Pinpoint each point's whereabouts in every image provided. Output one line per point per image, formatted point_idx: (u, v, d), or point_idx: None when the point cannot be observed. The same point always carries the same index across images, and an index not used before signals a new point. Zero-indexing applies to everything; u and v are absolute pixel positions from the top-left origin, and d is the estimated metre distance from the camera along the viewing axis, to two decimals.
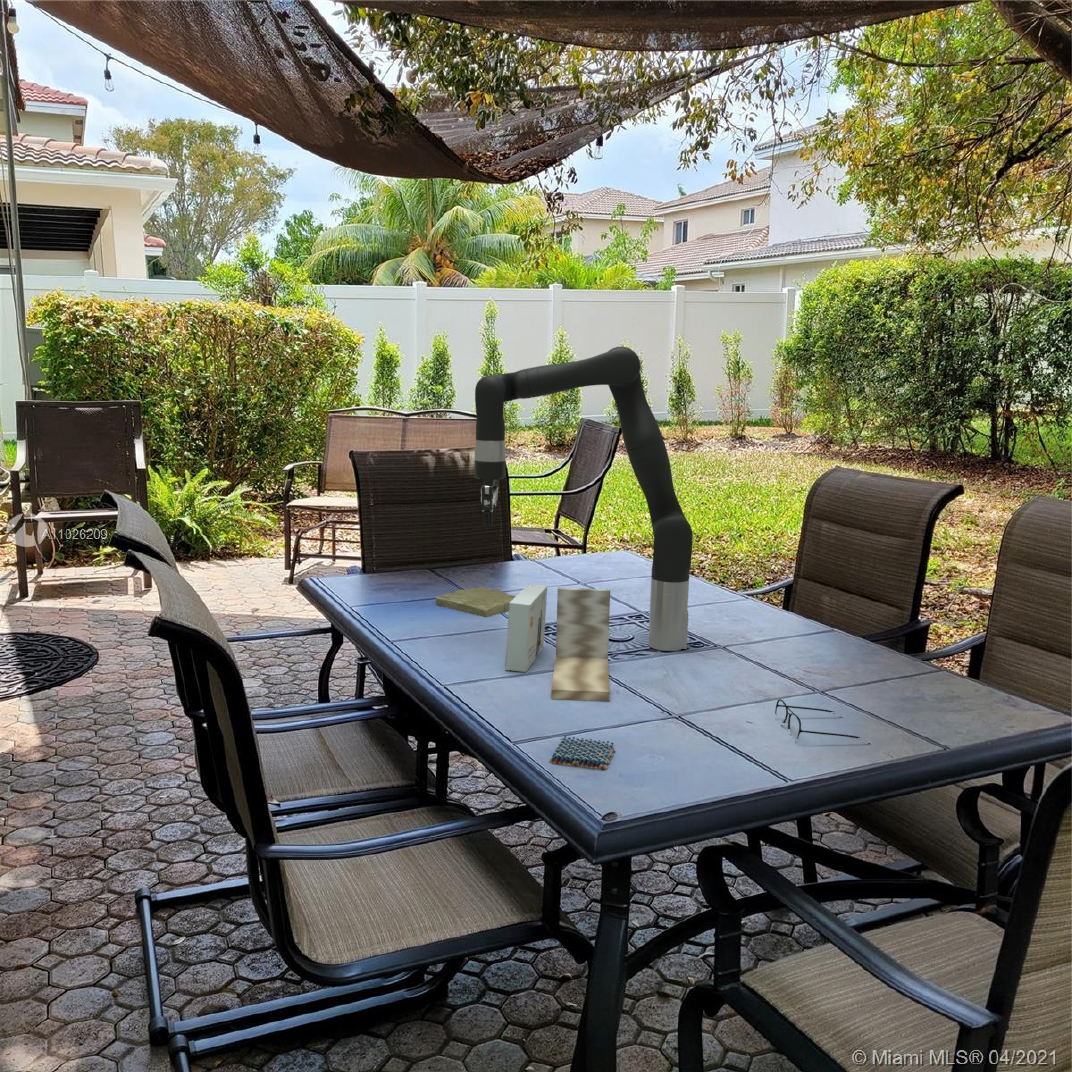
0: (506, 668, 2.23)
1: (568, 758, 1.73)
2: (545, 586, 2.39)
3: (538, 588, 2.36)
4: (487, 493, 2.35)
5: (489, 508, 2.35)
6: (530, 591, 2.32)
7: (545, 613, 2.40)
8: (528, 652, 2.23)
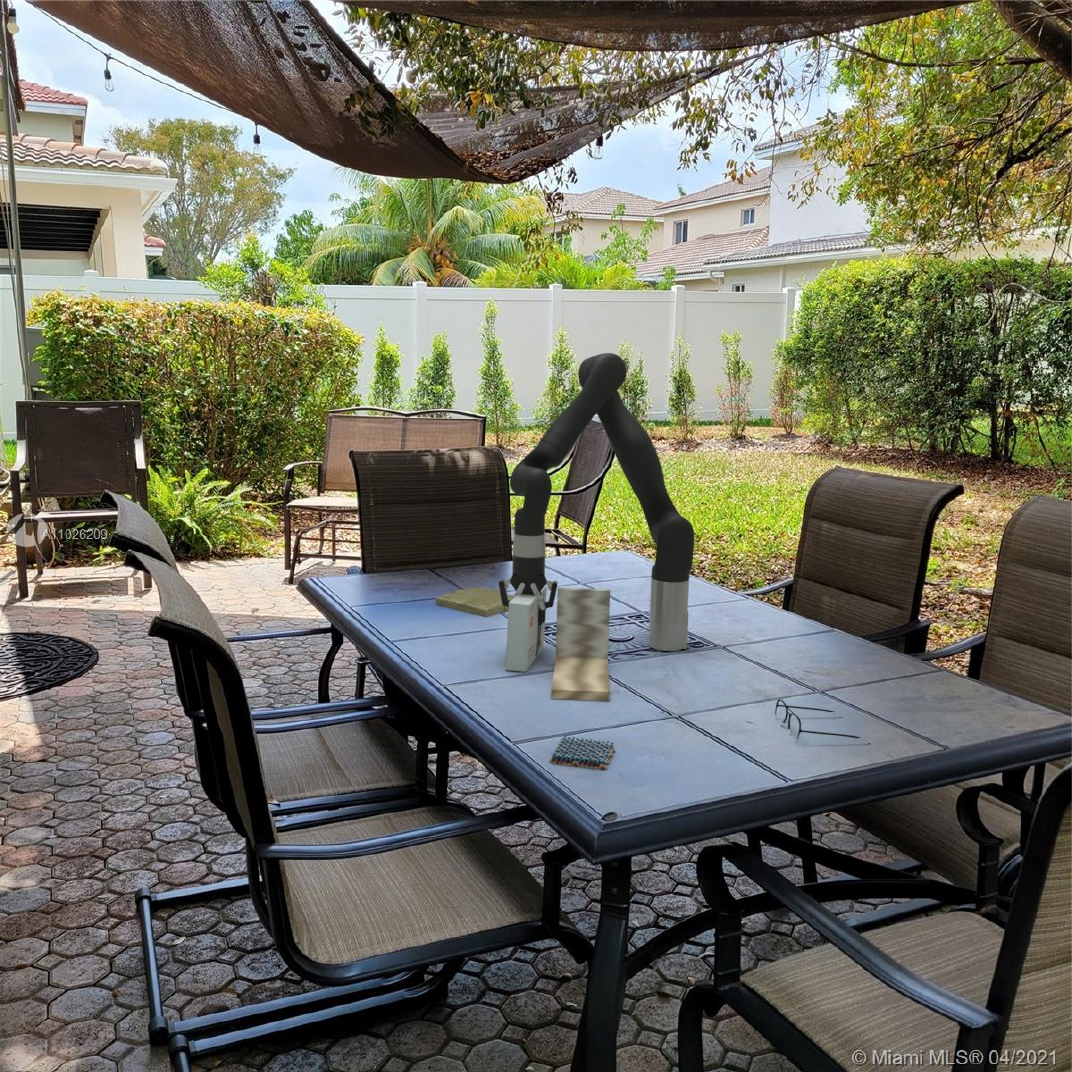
0: (506, 668, 2.23)
1: (568, 758, 1.73)
2: (545, 586, 2.39)
3: None
4: None
5: None
6: None
7: None
8: (528, 652, 2.23)
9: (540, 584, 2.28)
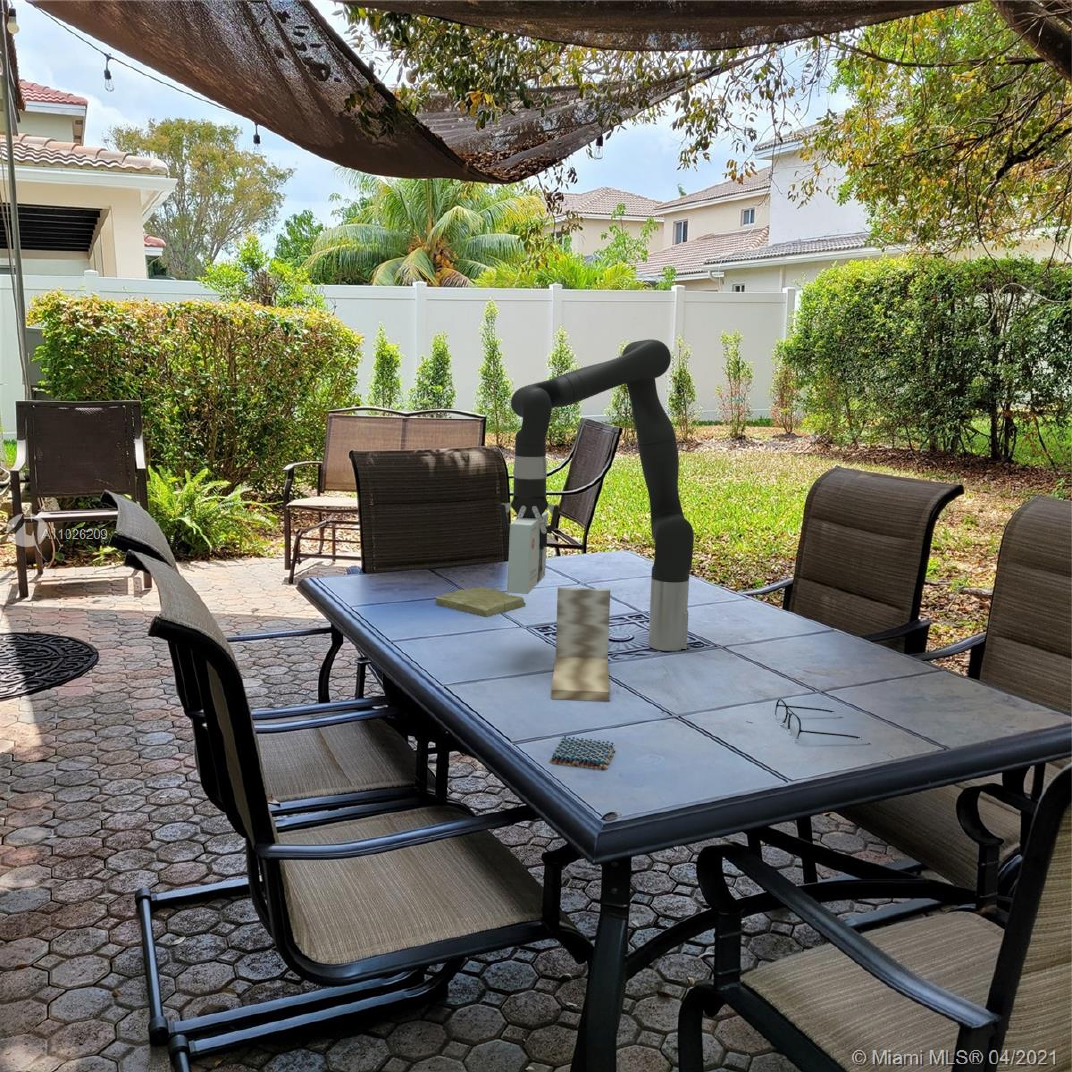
0: (508, 591, 2.20)
1: (568, 758, 1.73)
2: (546, 512, 2.36)
3: None
4: None
5: None
6: None
7: None
8: (530, 574, 2.20)
9: (541, 507, 2.25)
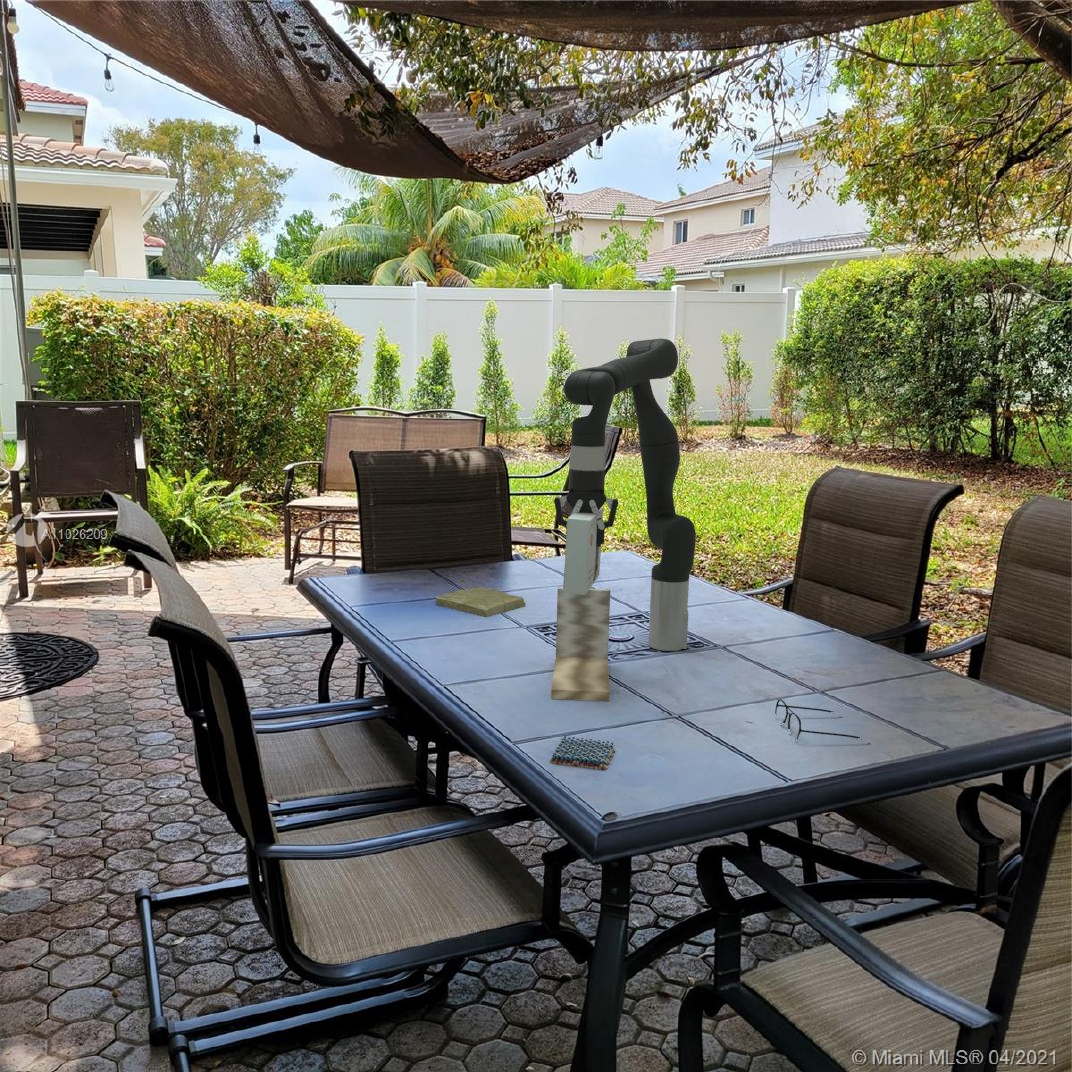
0: (564, 591, 2.03)
1: (568, 758, 1.73)
2: (601, 507, 2.19)
3: None
4: None
5: None
6: None
7: None
8: (588, 573, 2.03)
9: (599, 501, 2.09)
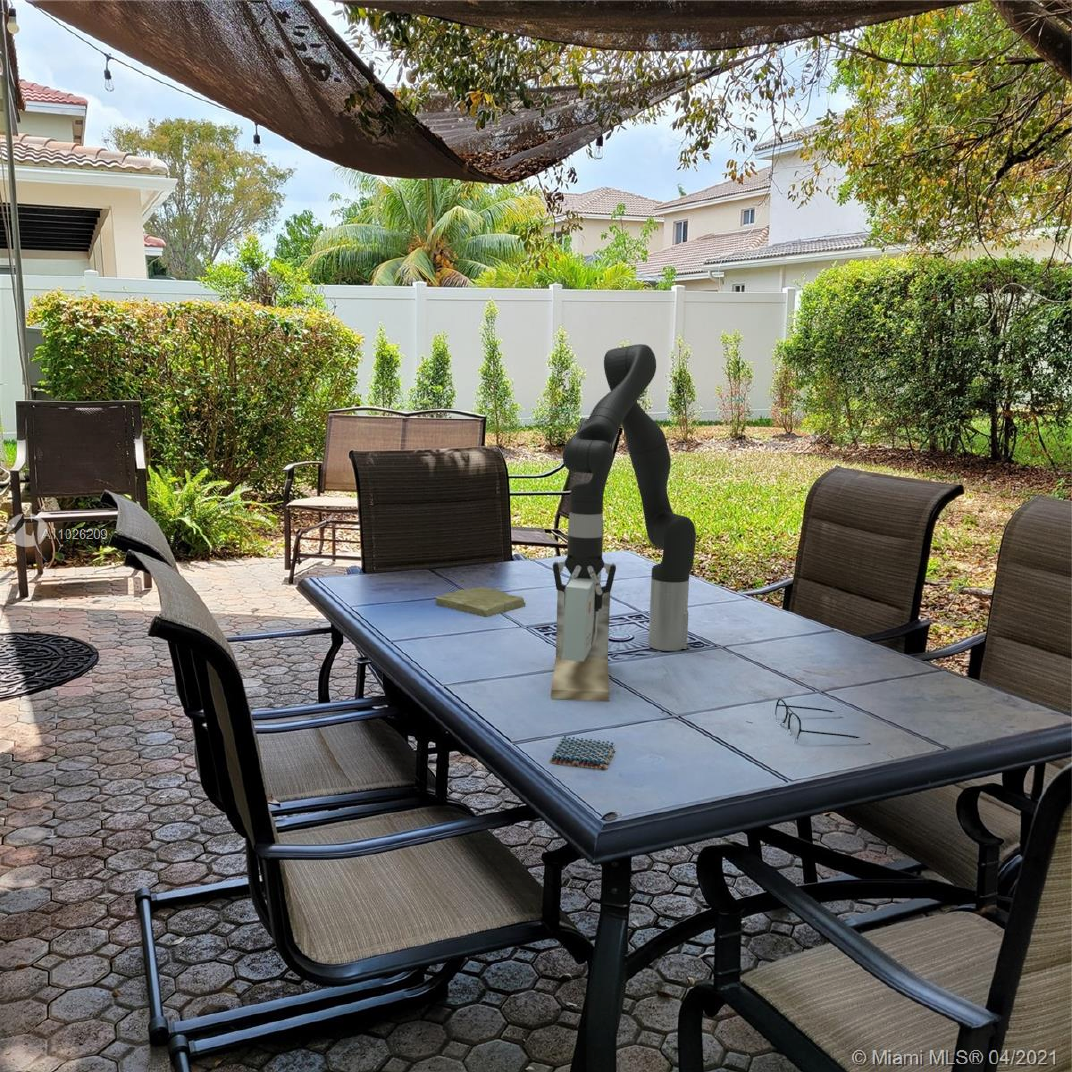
0: (562, 657, 2.06)
1: (568, 758, 1.73)
2: None
3: None
4: None
5: None
6: None
7: None
8: (586, 640, 2.06)
9: (597, 567, 2.11)
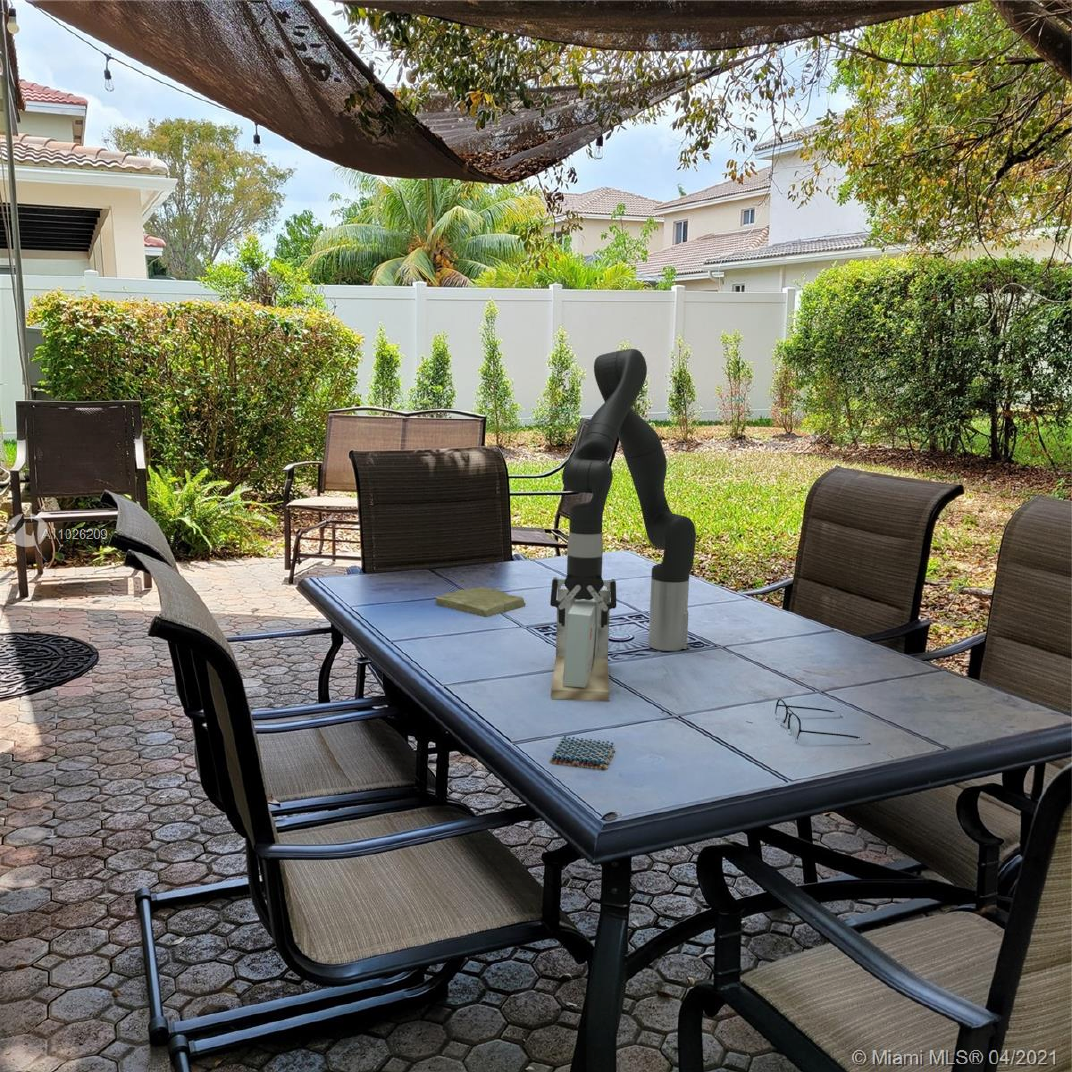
0: (564, 684, 2.07)
1: (568, 758, 1.73)
2: None
3: None
4: None
5: None
6: (585, 600, 2.16)
7: None
8: (588, 666, 2.07)
9: (597, 586, 2.12)
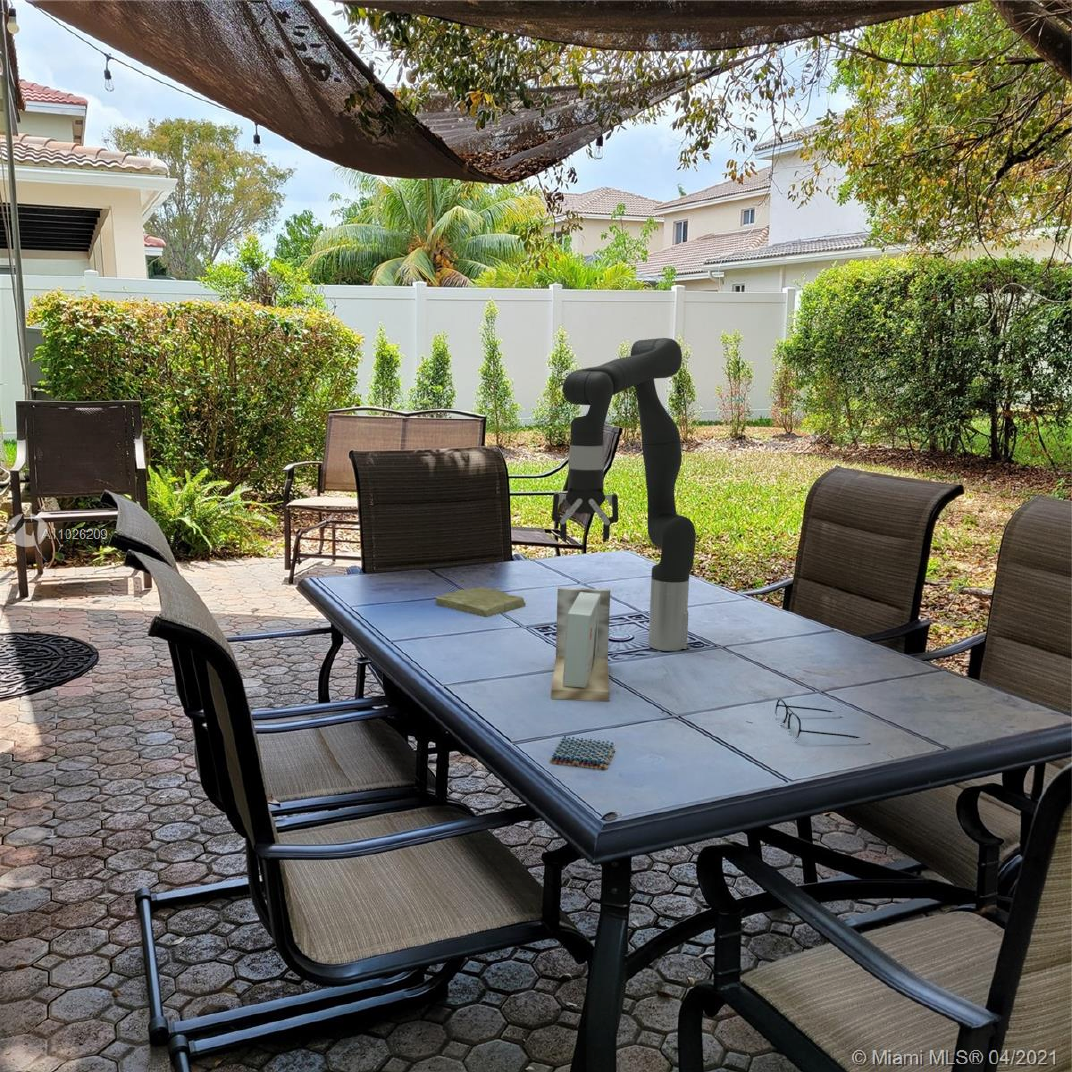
0: (564, 684, 2.07)
1: (568, 758, 1.73)
2: (598, 594, 2.23)
3: (592, 596, 2.20)
4: None
5: None
6: (585, 600, 2.16)
7: (598, 623, 2.24)
8: (588, 666, 2.07)
9: (599, 500, 2.10)
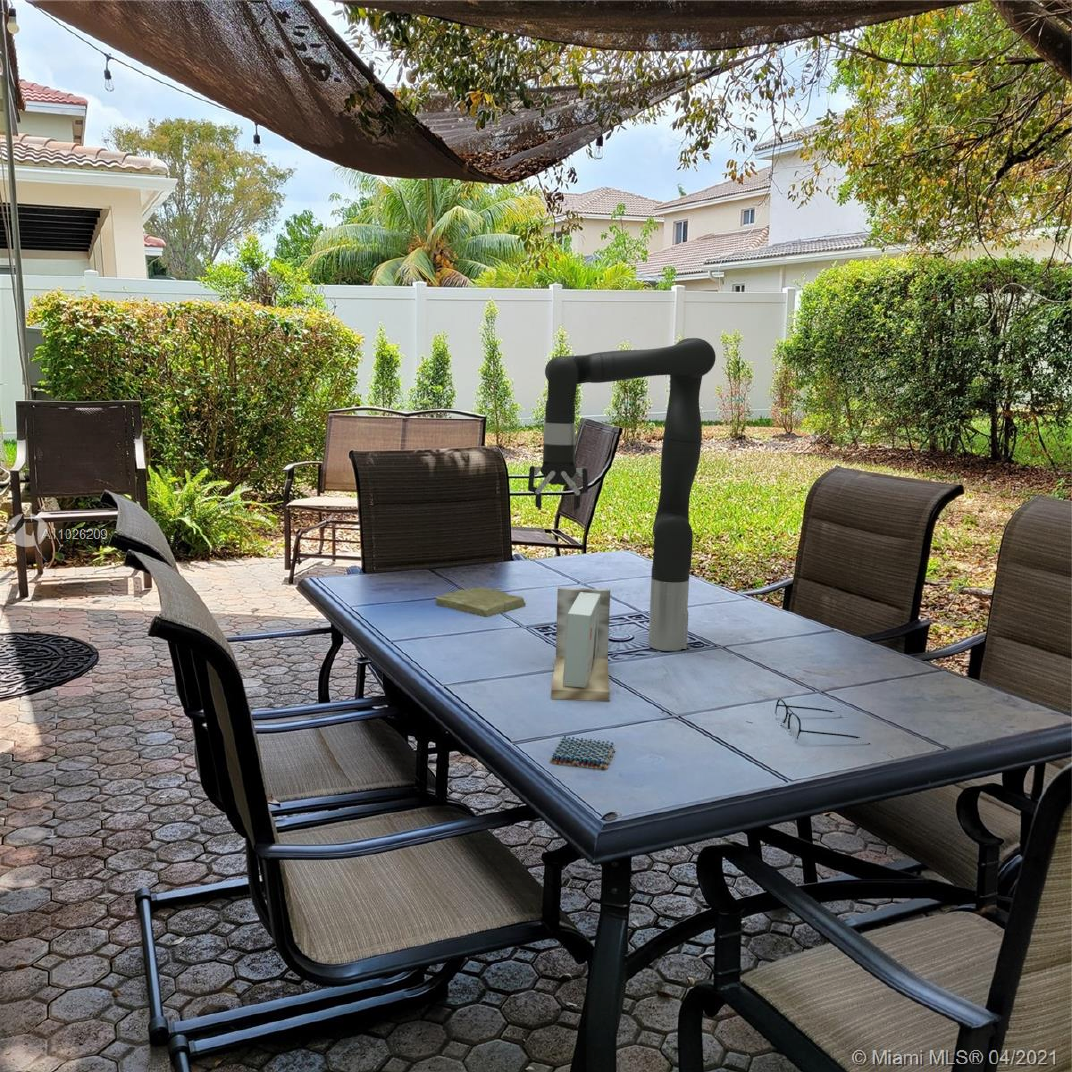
0: (564, 684, 2.07)
1: (568, 758, 1.72)
2: (598, 594, 2.23)
3: (592, 596, 2.20)
4: (587, 475, 2.35)
5: None
6: (585, 600, 2.16)
7: None
8: (588, 666, 2.07)
9: (571, 473, 2.34)
